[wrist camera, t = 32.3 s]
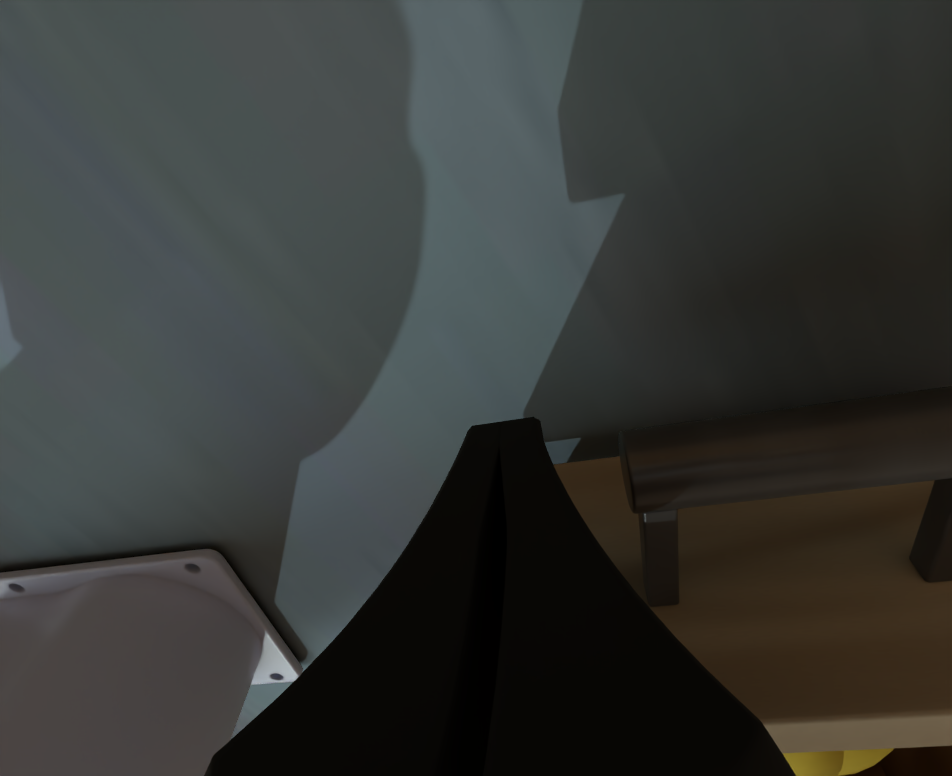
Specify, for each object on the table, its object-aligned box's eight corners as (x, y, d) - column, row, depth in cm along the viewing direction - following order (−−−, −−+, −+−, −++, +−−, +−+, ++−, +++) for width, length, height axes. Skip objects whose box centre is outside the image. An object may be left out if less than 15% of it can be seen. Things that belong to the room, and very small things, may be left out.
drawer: (472, 337, 13) (448, 591, 7) (1026, 245, 11) (1533, 488, 6) (563, 698, 22) (582, 932, 17) (875, 678, 21) (1013, 932, 15)
